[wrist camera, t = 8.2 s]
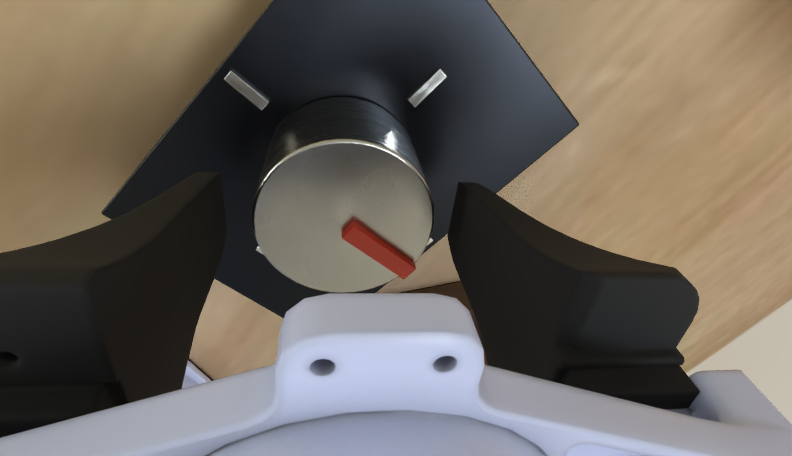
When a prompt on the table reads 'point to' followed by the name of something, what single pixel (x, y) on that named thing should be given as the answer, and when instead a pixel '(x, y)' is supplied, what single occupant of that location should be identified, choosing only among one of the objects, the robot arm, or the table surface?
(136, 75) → the table surface
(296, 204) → the dial
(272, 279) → the dial panel
